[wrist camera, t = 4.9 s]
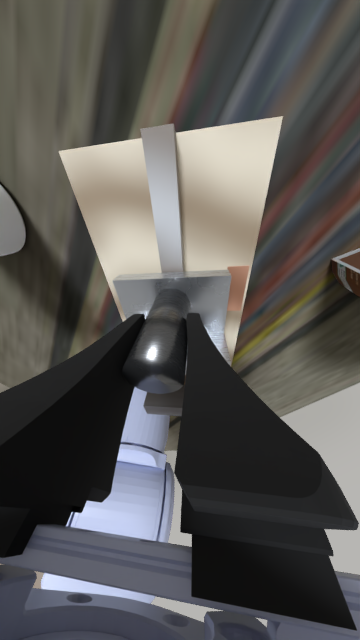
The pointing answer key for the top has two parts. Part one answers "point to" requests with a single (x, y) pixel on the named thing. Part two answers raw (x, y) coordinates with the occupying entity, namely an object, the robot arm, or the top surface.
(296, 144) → the top surface
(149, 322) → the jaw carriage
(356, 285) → the food container
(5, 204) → the can
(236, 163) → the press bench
